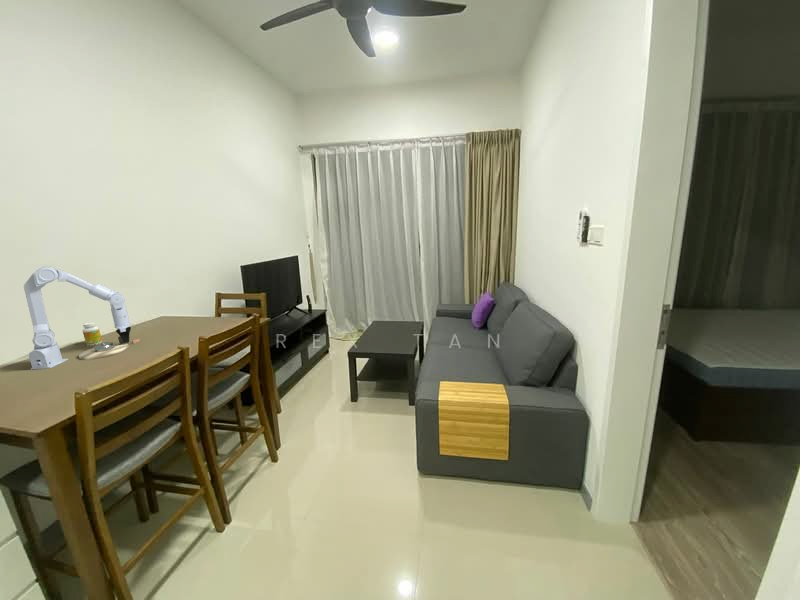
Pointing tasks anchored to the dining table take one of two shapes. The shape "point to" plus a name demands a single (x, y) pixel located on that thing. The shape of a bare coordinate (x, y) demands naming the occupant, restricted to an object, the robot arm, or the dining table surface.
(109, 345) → the cover
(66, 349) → the dining table surface
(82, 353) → the turntable
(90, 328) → the supplement bottle
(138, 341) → the peach rectangular brick
